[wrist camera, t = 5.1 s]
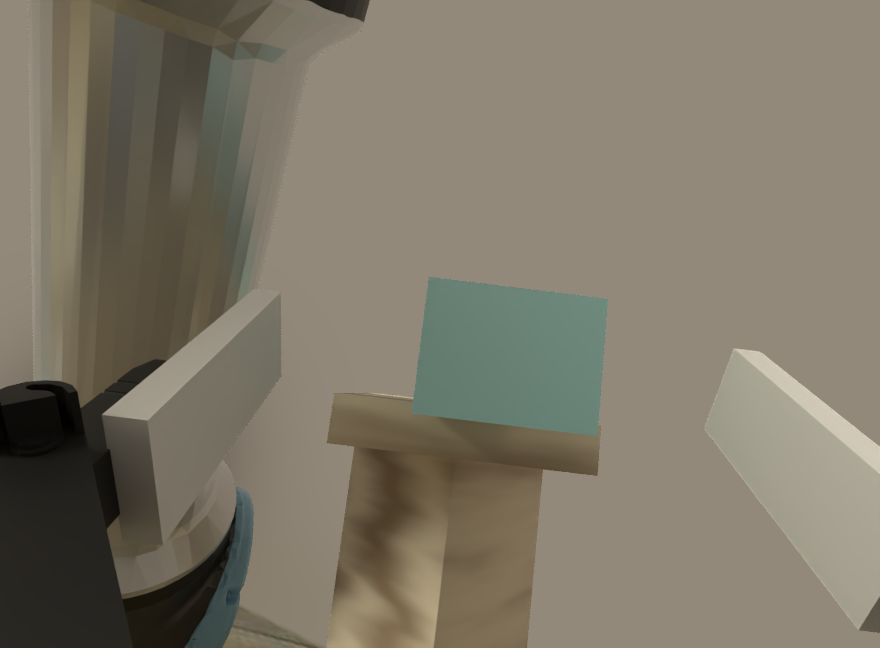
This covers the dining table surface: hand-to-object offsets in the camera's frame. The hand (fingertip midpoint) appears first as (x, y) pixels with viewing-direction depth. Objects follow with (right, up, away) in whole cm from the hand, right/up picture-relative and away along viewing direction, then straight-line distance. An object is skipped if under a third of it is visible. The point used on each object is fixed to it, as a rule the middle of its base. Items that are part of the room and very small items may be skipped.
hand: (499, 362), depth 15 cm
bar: (-1, -3, +9) cm, 9 cm away
